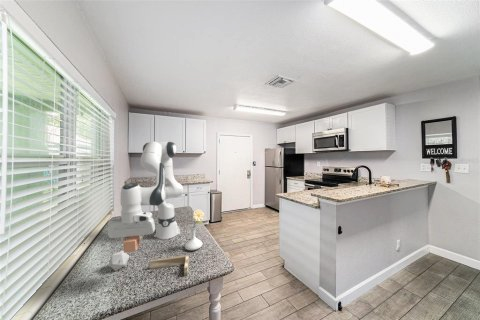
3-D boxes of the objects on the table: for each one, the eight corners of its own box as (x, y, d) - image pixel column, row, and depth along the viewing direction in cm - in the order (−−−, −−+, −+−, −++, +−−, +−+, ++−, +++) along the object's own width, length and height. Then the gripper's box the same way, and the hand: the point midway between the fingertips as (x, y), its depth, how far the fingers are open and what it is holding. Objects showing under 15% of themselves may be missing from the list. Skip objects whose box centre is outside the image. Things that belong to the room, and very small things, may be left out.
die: (104, 273, 94) (109, 262, 90) (110, 257, 101) (115, 246, 98) (123, 274, 98) (128, 263, 94) (127, 258, 105) (132, 247, 102)
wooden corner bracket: (150, 267, 97) (150, 260, 97) (188, 261, 102) (188, 254, 101) (144, 282, 85) (143, 274, 85) (187, 275, 90) (187, 267, 90)
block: (123, 252, 84) (123, 242, 84) (131, 243, 93) (130, 233, 93) (135, 251, 85) (135, 240, 85) (141, 242, 94) (141, 232, 94)
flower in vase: (185, 254, 110) (184, 213, 109) (183, 245, 120) (182, 208, 119) (206, 249, 115) (205, 210, 114) (203, 241, 125) (202, 206, 124)
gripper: (104, 221, 83) (106, 250, 84) (152, 216, 87) (153, 244, 88) (111, 216, 89) (112, 243, 90) (155, 212, 94) (156, 238, 94)
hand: (133, 243), depth 89 cm, fingers closed on block, 5 cm apart
